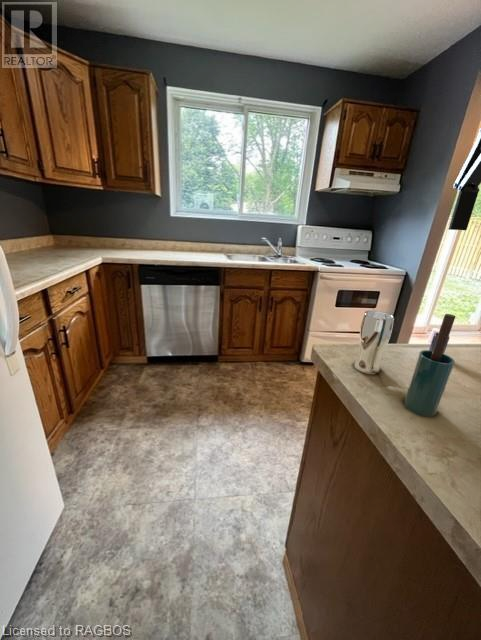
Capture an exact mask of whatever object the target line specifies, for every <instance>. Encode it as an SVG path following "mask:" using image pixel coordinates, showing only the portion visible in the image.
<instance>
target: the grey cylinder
mask: <svg viewBox="0 0 481 640" xmlns="http://www.w3.org/2000/svg"><path fill="white" fill-rule="evenodd" d="M438 334H439V332H434V334H433V337H432V340H431V343H430V346H429V349H428V350H430V351H433V349H434V346H435V343H436V340H437V337H438ZM450 339H451V338H450V336H449V337H448V340H447V343H446V346H445V349H444V352H443V354H445V352H446V349H447V346H448V344H449V340H450Z"/></svg>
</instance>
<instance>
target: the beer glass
mask: <svg viewBox="0 0 481 640" xmlns="http://www.w3.org/2000/svg"><path fill="white" fill-rule="evenodd" d="M394 321H395V316H394V315H393V314H391V313H388V312H385V311H381V310H366V311H364V315H363V318H362V321H361V324H360V328H359V337H358V341H359V342H358V355H357V358H356V360H355V362H354V368H355V370H357V371H358V372H361V373H363V374H366V375H377V374H379V372H380V370H381V369H380V368H381V366H380V365H381V359H382V356H383V355H384V353H385V350H386V348H387V347H388V344H389V342H390V339H391V336H392V332H393V327H394V323H395V322H394Z"/></svg>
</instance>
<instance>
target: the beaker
mask: <svg viewBox="0 0 481 640" xmlns="http://www.w3.org/2000/svg"><path fill="white" fill-rule="evenodd" d="M432 352H433V351H430V350H429V349H427V350H426V349H425V350H421V351H419V354H418V357H417V359H416V363H415V367H414V370H413V373H412V376H411V379H410V383H409V386H408V389H407V392H406V396H405V399H404V405H405V407H406V408H407V409H408V410H409V411H411V412H413V413H415V414H417V415H420V416H423V417H434V416H435V415H436V414H437V412H438V409H439V407H440V404H441V401H442V398H443V395H444V392H445V391H446V388H447V385H448V382H449V380H450V376H451V374H452V371H453V368H454V365H455V363H456V361H455V359H454V358H453V357H452V356H449V355H448V354H446V353H444V354H442V357H441V360H440V362H436V361H433V360H430V358H431V355H432Z"/></svg>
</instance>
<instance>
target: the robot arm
mask: <svg viewBox="0 0 481 640" xmlns="http://www.w3.org/2000/svg"><path fill="white" fill-rule="evenodd" d="M478 130H479V131H478V134H477V137H476V139H475V141H474V144H473V146H472V148H471V150H470V152H469V154H468V155H467V158H466V159H465V162H464V163H463V165H462V167H461V169H460V171H459V173H458V176H457V177H456V180H455V181H454V182H453V185H452V188H453V189H454V190H457V192H458V195H457V198H456V202H455V205H454V208H453V212H452V215H451V219H450V223H449V225H448V230H449V231H450V230H451V231H467V230H468V227H469V223H470V220H471V217H472V214H473V211H474V208H475V206H476V205H475V204H476V202H477V199H478V195H479V193H480V191H481V190H480V188H479V186H480V185H481V127H480V128H479V129H478Z"/></svg>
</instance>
